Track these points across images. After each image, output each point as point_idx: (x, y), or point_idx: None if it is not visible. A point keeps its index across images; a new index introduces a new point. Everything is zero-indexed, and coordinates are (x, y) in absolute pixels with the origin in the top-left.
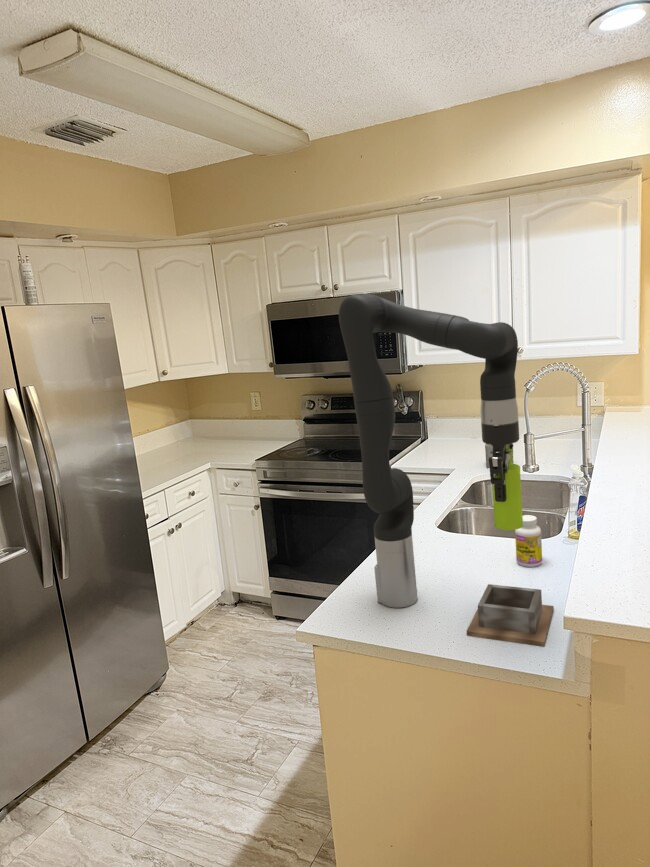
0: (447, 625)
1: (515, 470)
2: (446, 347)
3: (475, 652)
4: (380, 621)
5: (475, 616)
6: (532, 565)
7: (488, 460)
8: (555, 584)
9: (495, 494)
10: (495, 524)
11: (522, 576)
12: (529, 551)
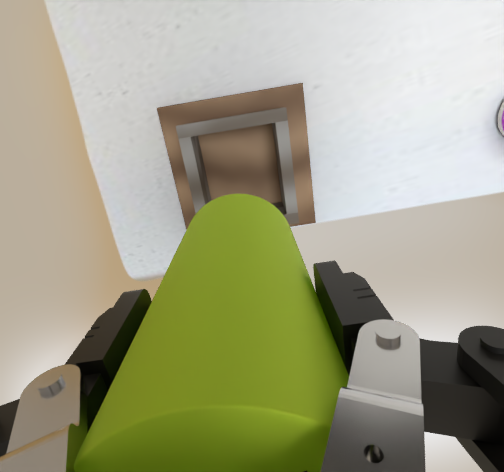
0: (174, 51)
1: None
2: None
3: (116, 146)
4: None
5: (218, 101)
6: (499, 128)
7: None
8: (419, 195)
9: (109, 316)
10: (198, 212)
11: (445, 121)
12: None
